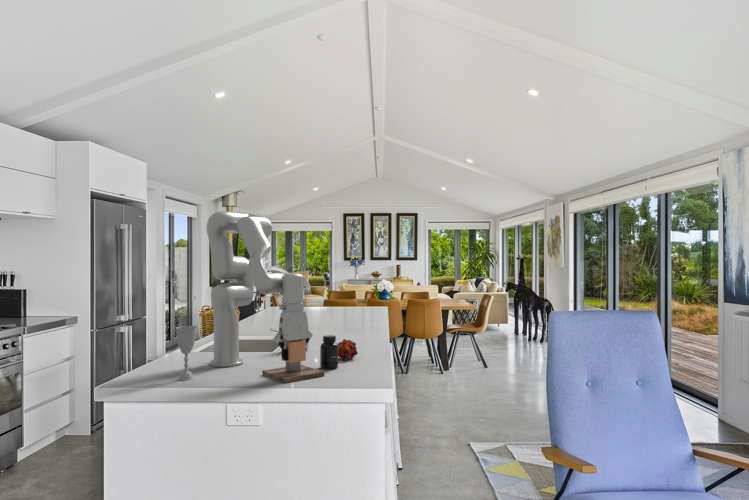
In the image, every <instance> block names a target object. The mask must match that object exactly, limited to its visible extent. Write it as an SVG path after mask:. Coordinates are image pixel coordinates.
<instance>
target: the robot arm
mask: <svg viewBox="0 0 749 500" xmlns="http://www.w3.org/2000/svg"><path fill="white" fill-rule="evenodd" d="M206 223H207V224H206V235H207V238H208V242H209V246H210V257H211V268H212V274H213V277H214V278H215V279H216V280H219V281H230V280H231V281H234V282H230V283H221V284H218V285H216V286H214V287H213V288H212V290H211V293H210V299H211V301H210V302H211V305H212V311H213V359H212V360H210V361H209V365H210V366H211V367H216V368H222V367H223V368H226V367H228V368H229V367H234V366H235V367H236V366H239V365H242V364H243V362H244V360H243V358H241V357H240V334H239V333H240V327H239V325H240V322H239V314H238V312H237V311H236V309H235V307H244V306H248V305H250V304H251V303H252V302H253V300H254V294H255V291H254V287H255V289H256V290H257V292H259V293H260V294H263V295H273V294H281V297H282V301H281V302H282V303H281V305H279V310H280V311H282V312H280V316H279V324H278V332H277V334H276V335H275V336H274V337H273V339H272V340H273V342H274V343H276V344H277V346H278V347H279V348H280V349H281V360H282V359H283V360H288V349H287V346H288V342H289V341H296V340H304V341H306V346H307V343H308V342H309V343H310V340H311V338H312V337H313V333H312V332H311V330H310V329H309V322H308V315H307V311H306V310H304V309H305V308H304V307H305V306H304V305H305V303H304V299H305V298H304V295H305V294H304V275H303V274H301V273H296V272H295V273H288V272H267V271H266V269H265V267H264V265H263V261H262V259H264V258H265V257H266V256H268V255H269V254H270V253H271V251H272V245H271V244H270V241H269V240H268V238H269V237H270V236H272V233H273V224H272V222H271V221H270V219H268V218H267V217H265V216H262V215H261V216H260V215H256V214H253V213H247V212H240V211H237V212H236V211H228V210H227V211H226V210H220V211H216V212H214V213H212V214H211V215H210V216H209V218H208V219H207V222H206ZM227 234H239V237H240V238H241V241H242V243H243V244H244V246H245V249H246V250H247V252H248V254H249V256H250V257H249V259H247V258H246V257H245V256H242V255H241V256H240V255H235V254H234V247H233V243H232V241H231V239H230V238H229V236H228V235H227ZM283 360H282V361H283Z"/></svg>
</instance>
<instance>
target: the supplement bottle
mask: <svg viewBox="0 0 749 500" xmlns="http://www.w3.org/2000/svg"><path fill="white" fill-rule="evenodd" d="M336 342H337V338H336V335H323V337H322V343H321V344H320V348H319V349H320V350H319V351H320V352H319V353H320V355H319V356H320V357H319V358H320V359H319V360H320V361H319V368H321V369H323V370H336V369H338V367H339V357H338V343H336Z"/></svg>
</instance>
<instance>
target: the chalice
mask: <svg viewBox="0 0 749 500" xmlns="http://www.w3.org/2000/svg"><path fill="white" fill-rule="evenodd" d="M197 328H198V327H197V325H180V326H176V327H175V328H174V329H175V331H176V343H177V345H178V349H179V350H180V352H181V353H182V354H183V355H184V359H183V361H184V364H183V366H184V370H183V371H181V373H180V375H179V378H178V381H191V380H194V378H195V377H194V376H193V373H192V371H189V369H188V368H189V365H190V364H189V360H190V359H189V356H188V355H189V354H190V353H191V352H192V350H193V348H194V346H195V342H196V330H197Z"/></svg>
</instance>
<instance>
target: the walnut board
mask: <svg viewBox="0 0 749 500" xmlns="http://www.w3.org/2000/svg"><path fill="white" fill-rule="evenodd" d="M261 372H262V373H261V374H263V375H262V376H264V375H265V377H267V376H268V377H267V378H269V377H270V379H272V378H273V379H272V380H275V381H278V382H281V383H283V384H289V383H293V382H300V381H304V380H309V379H316V378H321V377H322V378H323V377H325V371H324V370H320V369H316V368H313V367H310V366H307V365H303V364H301V371H300V372H294V373H290V372H287V371H286V366H284V367H283V366H282V367H278V368H277V367H276V368H270V369H265V370H264V369H263V370H262V371H261Z"/></svg>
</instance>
